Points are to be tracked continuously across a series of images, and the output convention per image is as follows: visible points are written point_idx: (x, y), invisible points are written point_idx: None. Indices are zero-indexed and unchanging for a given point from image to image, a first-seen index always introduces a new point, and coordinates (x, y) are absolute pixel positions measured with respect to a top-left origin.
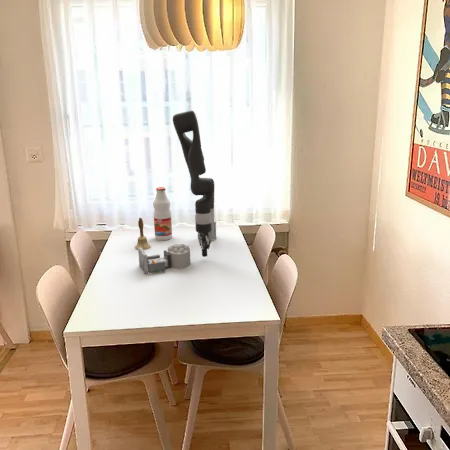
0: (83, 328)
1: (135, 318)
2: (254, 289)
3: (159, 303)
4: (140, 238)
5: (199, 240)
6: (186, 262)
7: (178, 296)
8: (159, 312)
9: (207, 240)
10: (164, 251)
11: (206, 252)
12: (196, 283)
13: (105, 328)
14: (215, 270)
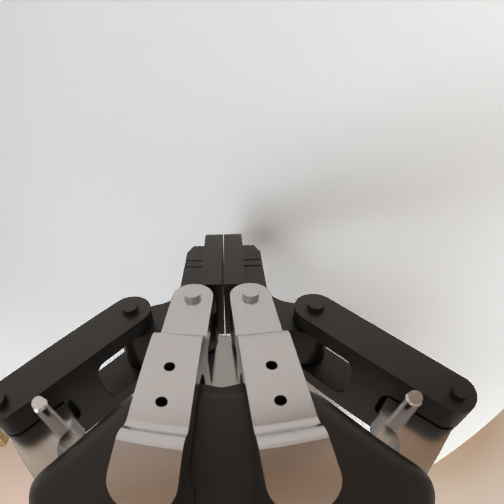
0: (436, 460)
1: (476, 425)
2: None
3: (476, 408)
4: (2, 446)
5: (109, 408)
6: (313, 390)
7: (490, 382)
8: (497, 401)
9: (438, 443)
10: None
11: (263, 273)
12: (485, 341)
13: (460, 444)
14: (462, 229)
